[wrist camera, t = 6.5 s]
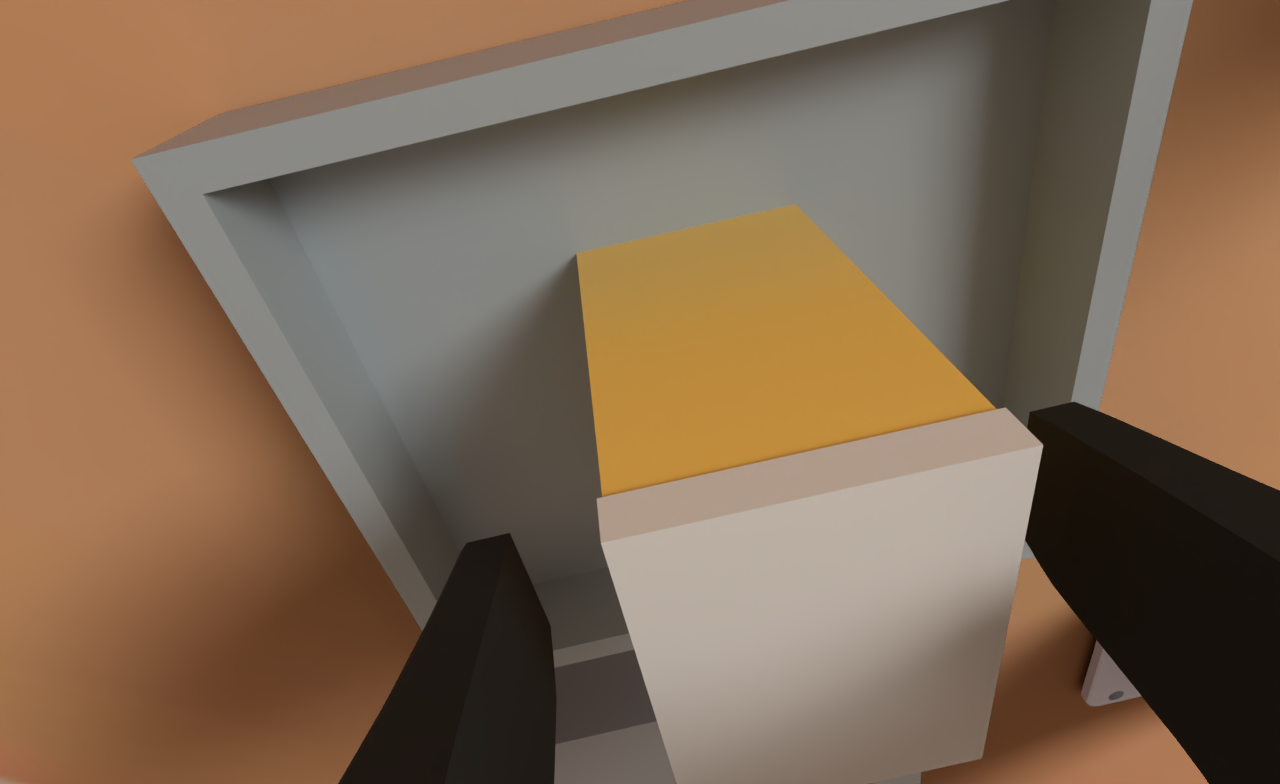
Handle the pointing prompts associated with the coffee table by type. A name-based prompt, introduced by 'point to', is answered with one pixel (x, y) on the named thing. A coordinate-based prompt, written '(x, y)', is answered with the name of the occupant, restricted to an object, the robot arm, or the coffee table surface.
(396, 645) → the coffee table surface
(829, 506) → the block
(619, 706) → the block
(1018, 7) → the parts tray
